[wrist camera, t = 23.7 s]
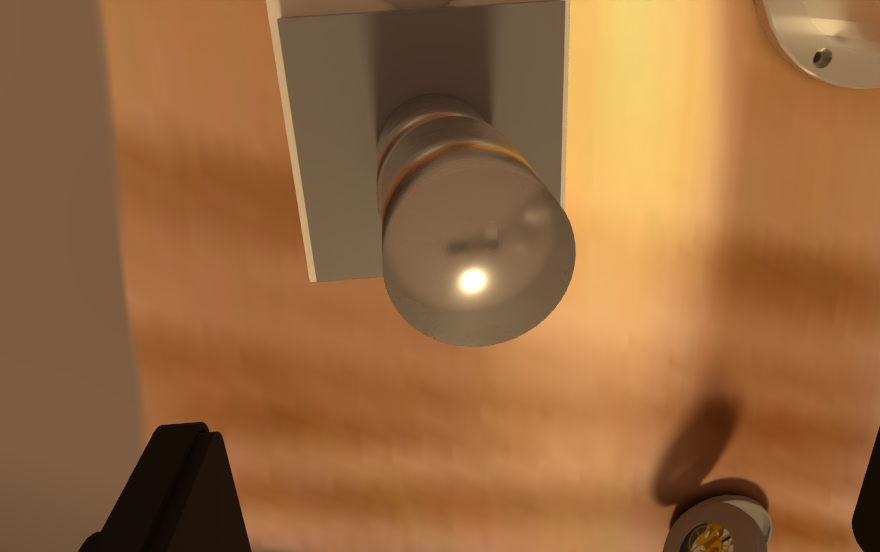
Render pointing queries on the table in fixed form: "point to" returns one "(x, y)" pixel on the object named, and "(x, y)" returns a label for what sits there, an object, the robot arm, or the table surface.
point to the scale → (398, 80)
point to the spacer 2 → (471, 235)
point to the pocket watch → (721, 527)
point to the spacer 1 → (415, 125)
